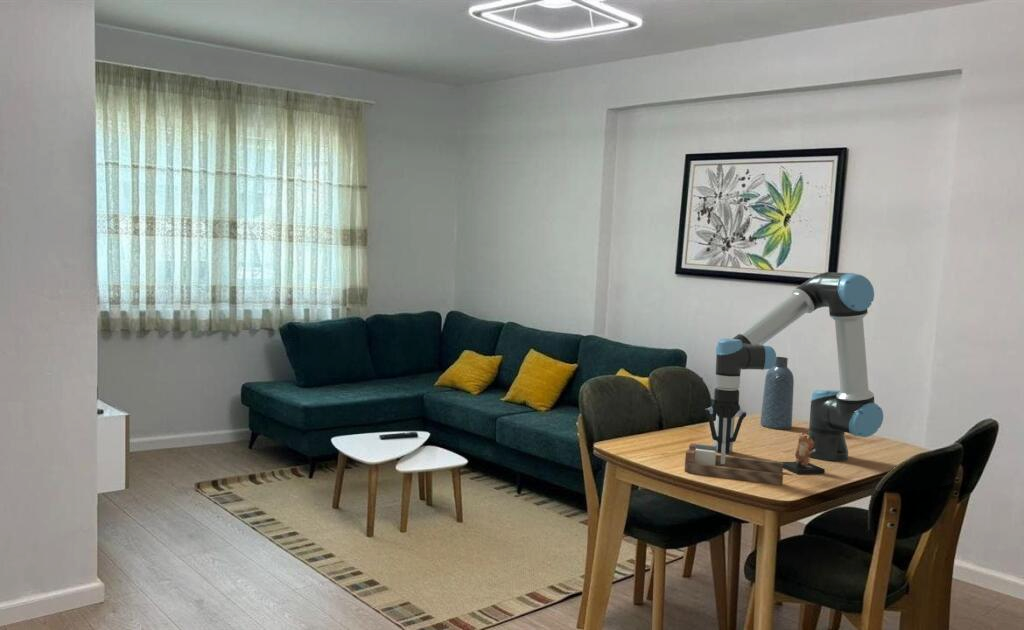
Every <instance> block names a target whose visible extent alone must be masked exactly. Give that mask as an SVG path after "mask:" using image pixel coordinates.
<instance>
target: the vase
mask: <svg viewBox="0 0 1024 630" xmlns="http://www.w3.org/2000/svg"><path fill="white" fill-rule="evenodd" d="M788 360H789V358H788V357H784V356H776V363H775V365H774V366H773V367H772V368H771V369H767V372H766V375H765V380H764V386H763V395H762V397H763V398H762V405H761V412H760V413H761V415H760V422H759V423H760V426H762V427H764V426H765V427H764V428H767V427H768V428H769V429H772V428H774V430H789V428H790V429H791V428H792V427H793V410H794V409H793V408H794V407H793V405H794V403H793V402H794V387H795V386H794V385H795V384H794V382H795V379H794V374H793V372H792V370H791V369H790V368H789V367H788V363H789V362H788Z"/></svg>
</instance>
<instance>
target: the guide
mask: <svg viewBox="0 0 1024 630" xmlns="http://www.w3.org/2000/svg"><path fill="white" fill-rule="evenodd" d="M696 444H697V443H689V446H688V449H686V451H685V458H684V472H686V473H687V474H694V475H700V476H701V475H702V476H710V477H715V478H722V479H723V478H725V479H732V480H739V481H747V482H753V483H754V482H755V483H764V484H770V485H779V486H783V481H784V473H783V471H784V468H783V463H781V462H782V461H772V460H763V459H755V458H750V457H749V458H747V457H740V456H731V455H725V464H721V454H716V460H715V466H714V465H706V464H699V463H694V462H695V450H696V448H695V447H696Z"/></svg>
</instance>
